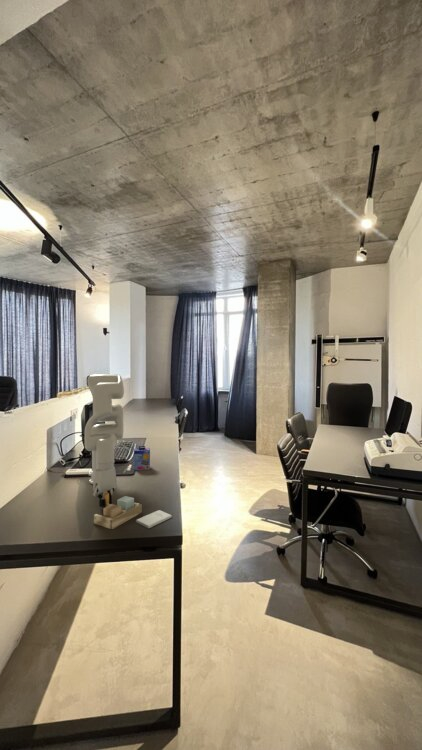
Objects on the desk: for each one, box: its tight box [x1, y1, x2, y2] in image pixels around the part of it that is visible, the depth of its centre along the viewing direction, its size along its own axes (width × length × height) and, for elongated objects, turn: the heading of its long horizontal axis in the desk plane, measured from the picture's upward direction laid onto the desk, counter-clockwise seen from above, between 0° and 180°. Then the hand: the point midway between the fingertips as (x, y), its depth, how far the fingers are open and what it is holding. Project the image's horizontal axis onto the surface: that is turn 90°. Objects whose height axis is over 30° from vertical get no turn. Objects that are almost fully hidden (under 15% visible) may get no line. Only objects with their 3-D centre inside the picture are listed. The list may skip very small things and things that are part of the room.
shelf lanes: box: [93, 501, 143, 530], centre depth 140 cm, size 10×17×4 cm, turn 151°
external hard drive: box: [135, 509, 173, 529], centre depth 138 cm, size 2×8×12 cm
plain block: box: [102, 503, 121, 519], centre depth 136 cm, size 5×5×6 cm
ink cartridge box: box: [133, 445, 151, 471], centre depth 205 cm, size 10×6×14 cm, turn 104°
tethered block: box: [104, 492, 135, 511], centre depth 146 cm, size 16×5×6 cm, turn 61°
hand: (105, 505), depth 149 cm, fingers closed on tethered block, 3 cm apart
